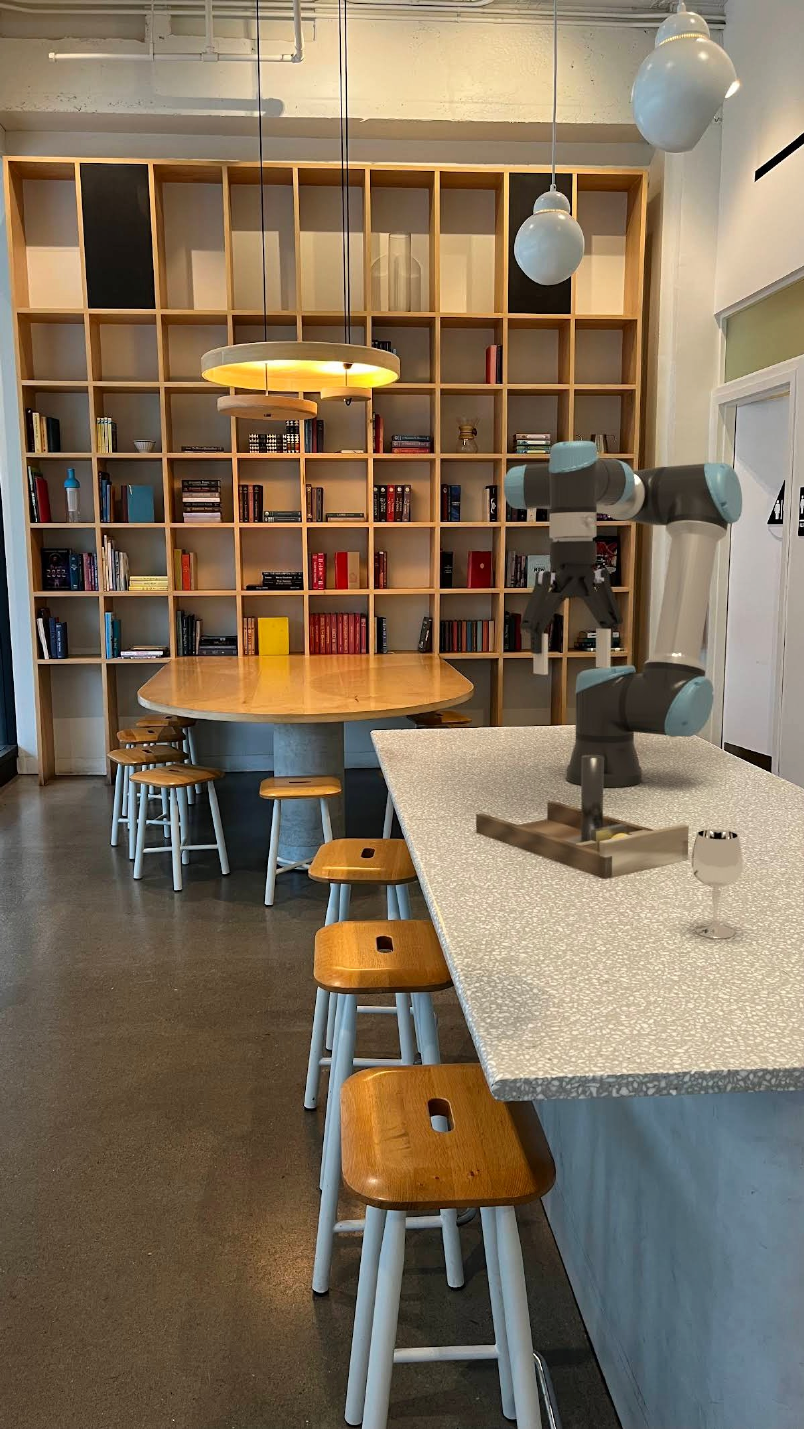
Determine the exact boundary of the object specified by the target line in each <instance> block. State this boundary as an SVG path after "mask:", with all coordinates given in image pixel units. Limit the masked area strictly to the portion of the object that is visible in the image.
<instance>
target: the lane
mask: <svg viewBox="0 0 804 1429" xmlns="http://www.w3.org/2000/svg"><path fill="white" fill-rule="evenodd" d="M617 824H624V825H627V834H628V836H623V837H619V838H614V839H609V840H604V841H600V852H598V851H597V842H595V841H592V840H591V841H587V842H582V843H577V844H574V843H571V842H568V841H565V840H569V839H574V838H579V837H581V808H578V807H575V806H572V805H568V804H565V803H562V802H558V801H554V800H550V801H547V817H546V819H542V820H537V821H530V822H526V823H519V824H516V823H513V822H510V821H507V820H504V819H500V818H498V817H495V816H492V815H489V814H485V813H482V812H481V813H480V812H479V813H476V814H475V831H476V832H475V833H476V834H478V835H482V836H484V837H487V838H491V839H492V840H496V841H497V842H502V843H504V844H507V845H510V846H512V847H514V848H518V849H521V850H523V851H526V852H529V853H531V854H533V855H538V856H540V857H543V858H545V859H548V860H550V861H554V862H557V863H559V864H562V865H564V866H568V867H570V868H572V869H576V870H577V871H581V872H584V873H587V874H589V875H593V876H595V877H597V878H598V877H599V878H601V879H604V880H608V879H612V878H616V877H620V876H625V875H629V874H634V873H637V872H643V871H646V870H651V869H655V868H659V867H663V866H668V865H673V864H676V863H677V864H678V863H681V862H685V861H688V860H689V829H690V828H689V825H686V824H678V825H673V826H669V827H664V828H657V829H652V828H649V827H645V826H642V825H638V824H635V823H632V822H629V821H625V820H622V819H617V818H614V817H610V816H607V815H604V814H603V827H607V826H612V825H617Z"/></svg>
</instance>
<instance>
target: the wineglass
mask: <svg viewBox="0 0 804 1429" xmlns="http://www.w3.org/2000/svg"><path fill="white" fill-rule="evenodd" d="M743 861H744V860H743V851H742V846H741V841H740V837H739V834H738V833H737V832H734V831H730V830H724V829H703V830H699V831H697V833H696V837H695V840H694V843H693V848H692V853H691V867H692V868H691V869H692V873H693V875H694V876H695V878H696V879H697V880H698V881H699V882H700V883H702V884H703V885H706V886H709V887H712V888H713V889H712V891H711V899H712V904H713V905H712V906H713V915H712V916H713V917H712V921H711V923H710V924H702V925H699V926H697V927H696V928H695V933H696V934H698V935H699V936H701V937H702V936H703V937H706V938H711V939H719V940H720V939H722V940H723V939H728V938H731V937H734V935H735V931H734V930H733V929H732V928H730V927H727V926H724V925H722V924H721V925H720V924H719V923H720V922H719V920H718V909H719V908H718V907H719V901H720V899H721V891H720V890H719V889H720V888H725V887H728V886H731V885H733V884H735V883H736V882H737V881H738V880H739V879H740V877H741V875H742V871H743Z"/></svg>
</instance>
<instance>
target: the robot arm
mask: <svg viewBox="0 0 804 1429" xmlns="http://www.w3.org/2000/svg"><path fill="white" fill-rule="evenodd" d="M549 451H550V452H549V463H540V464H538V463H537V464H524V465H519V466H518V465H517V466H514V467H512V468H510V469H509V470H508V472H506V475H505V477H504V480H503V493H504V494H503V495H504V497H505V500H506V502H507V504H508V505H509V506H510V507H511V508H513V509H518V510H519V509H520V510H522V509H523V510H531V509H545V510H549V534H548V535H549V538H550V539H552V541H551V542H550V544H549V563H550V565H551V566H552V570H551V571H549V570H545V571H544V570H543V571H542V570H538V571H536V573H535V578H534V585H533V589H532V591H531V594H530V597H529V599H528V602H527V605H526V607H525V610H524V613H523V616H522V617H521V621H520V624H519V629H520V630H521V631H522V630H523V631H525V633H527V634H529V635H530V653H531V654H532V655H533V656H532V657H533V662H532V663H533V674H536V675H542V676H543V675H544V676H546V675H548V674H549V634H548V633H544V632H545V631H546V629H547V627H548V625H549V624H550V622H551V621H552V620H553V617H554V616H555V614H556V613H557V611H558V610H559V608H560V607H561V605H562V604H563V602H565V601H566V600H567V599H576V598H577V599H581V600H582V601H583V603H584V604H585V605H586V607H587V608H588V609H589V611H590V612H591V615H592V616H593V618H594V619H595V620H596V622H597V624H598V625H599V627H600V628H596V629H595V630H596V631H595V667H596V668H591V669H586V670H582V671H581V672H579V673H578V674H577V675H576V676H577V677H576V681H575V691H574V695H575V742H574V746H573V750H572V753H571V756H570V759H569V760H570V761H569V764H568V765H567V766H566V780H567V782H570V783H572V784H575V785H580V786H581V784H582V756H584V755H600V756H603V757H604V774H603V788H622V787H628V786H634V785H638V784H640V783H642V782H643V769H642V766H640V763H639V762H640V761H639V757H638V754H637V753H638V752H637V750H636V747H635V740H634V739H635V736H634V734H635V733H638V734H639V733H641V734H650V735H651V734H652V735H660V736H661V735H662V736H668V737H670V738H677V737H684V738H686V737H693V736H695V735H697V734H699V733H700V732H701V731H702V729H703V728H704V727H705V726H706V725H707V722H708V720H709V718H710V715H711V712H712V709H713V705H714V698H715V697H714V687H713V683H712V682H711V680H710V678H707V677H706V669H705V668H704V666H703V664H702V663H701V662H700V657H701V650H702V643H703V638H704V637H703V636H704V631H705V630H704V629H705V623H706V616H707V609H708V603H709V597H710V596H709V595H710V589H711V585H712V584H711V583H712V578H713V570H714V563H715V558H716V557H715V556H716V550H717V545H718V542H720V541H721V540H723V539H724V538H725V537H726V536H727V531H728V525H731V524H732V525H733V524H734V523H737V522H739V519H740V517H741V515H742V511H743V494H742V487H741V483H740V479H739V477H738V474H737V473H736V470H735V469H734V468H733V467H732V466H731V465H730V464H728V463H725V462H705V463H696V464H694V463H693V464H684V465H671V466H657V467H650V468H644V469H638V470H633V469H632V468H631V466H630V465H629V464H628V463H626V462H624V461H621V460H618V459H616V458H602V457H601V458H600V457H599V455H598V447H597V445H596V442H593V441H588V440H571V441H568V440H567V441H560V442H557V443H555V444H553V445H552V446H551V448H550V450H549ZM597 513H598V514H606V515H607V516H609V517H610V518H612V519H614V520H616V521H617V520H618V521H626V522H632V523H638V524H641V525H643V524H644V525H648V526H650V525H651V526H665V531H666V533H667V534H668V535H669V536H670V537H671V543H670V549H669V555H668V562H667V568H666V575H665V580H664V587H663V594H662V599H661V601H662V602H661V606H660V614H659V620H658V626H657V633H656V638H655V645H654V652H653V653H654V654H653V655H652V656H651V657H650V658H648V659H647V660H646V661H645V662H644V666H643V671H642V673H636V672H637V670H636V668H635V666H634V665H617V666H616V665H615V666H611V655H612V654H611V648H613V646H614V629H618V627H619V625H621V624H622V623H623V622H624V619H623V616H622V613H621V610H620V607H619V604H618V602H617V598H616V596H615V593H614V591H613V588H612V585H611V581H610V571H609V570H608V569H605V568H603V569H602V568H599V569H597V568H596V569H594V565H595V564H596V562H597V553H598V552H597V546H598V545H597V543H596V541H595V540H593V538H595V537H597V526H598V524H597V519H598V518H597V516H598V515H597ZM593 583H594V585H593ZM551 585H553V586H552V587H551Z"/></svg>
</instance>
